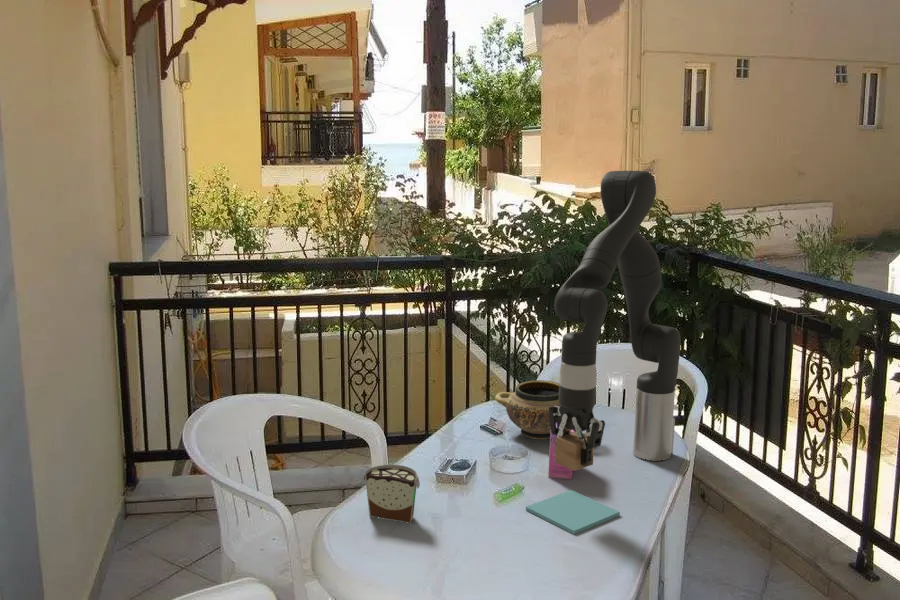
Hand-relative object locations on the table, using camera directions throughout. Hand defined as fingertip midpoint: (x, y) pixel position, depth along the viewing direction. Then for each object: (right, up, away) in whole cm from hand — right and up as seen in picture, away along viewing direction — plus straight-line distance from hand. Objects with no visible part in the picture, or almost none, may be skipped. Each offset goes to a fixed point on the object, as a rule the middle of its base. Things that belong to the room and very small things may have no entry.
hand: (574, 459), depth 179 cm
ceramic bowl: (-2, -2, +49) cm, 49 cm away
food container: (-38, -12, +1) cm, 39 cm away
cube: (0, -1, 0) cm, 1 cm away
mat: (0, -12, +2) cm, 12 cm away
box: (+1, -7, +25) cm, 26 cm away
